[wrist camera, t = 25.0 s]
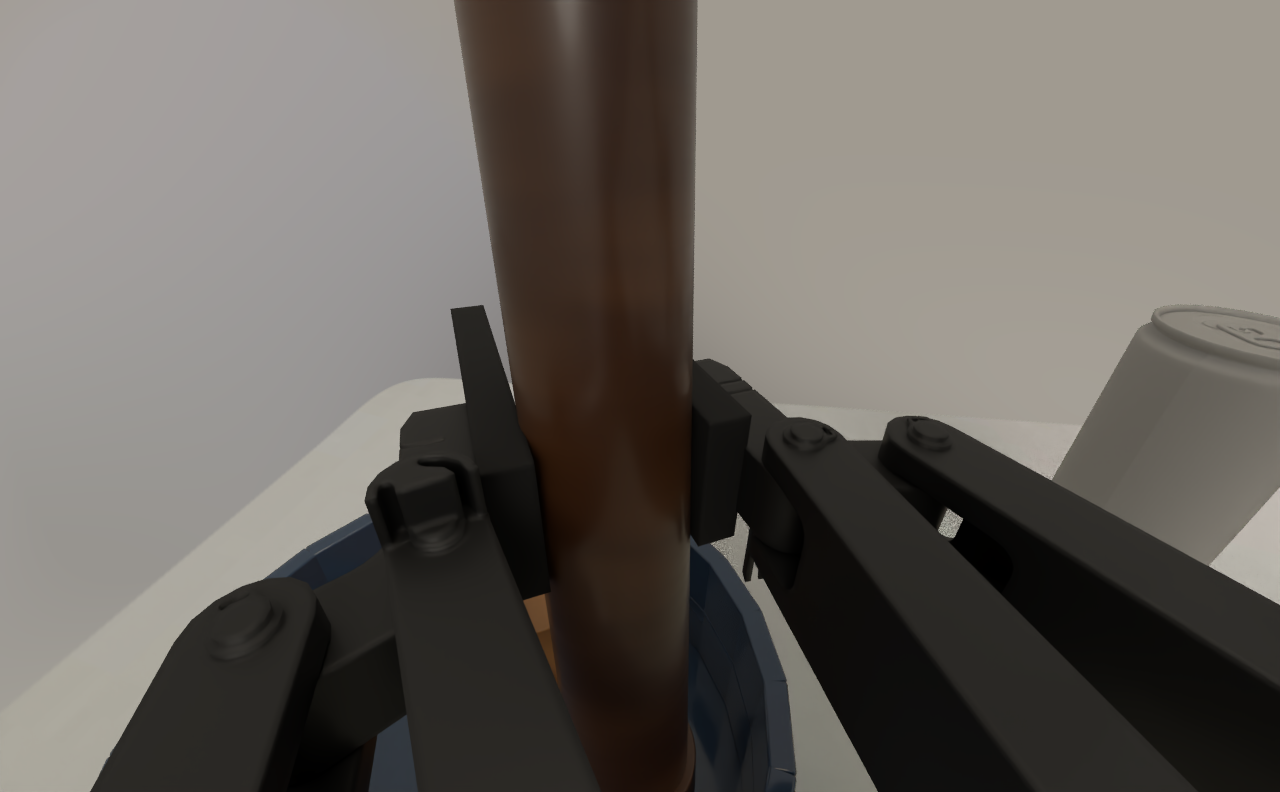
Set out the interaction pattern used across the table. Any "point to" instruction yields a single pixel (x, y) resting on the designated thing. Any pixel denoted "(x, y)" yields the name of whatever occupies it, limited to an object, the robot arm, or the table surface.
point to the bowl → (717, 674)
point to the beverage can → (1186, 429)
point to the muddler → (600, 343)
